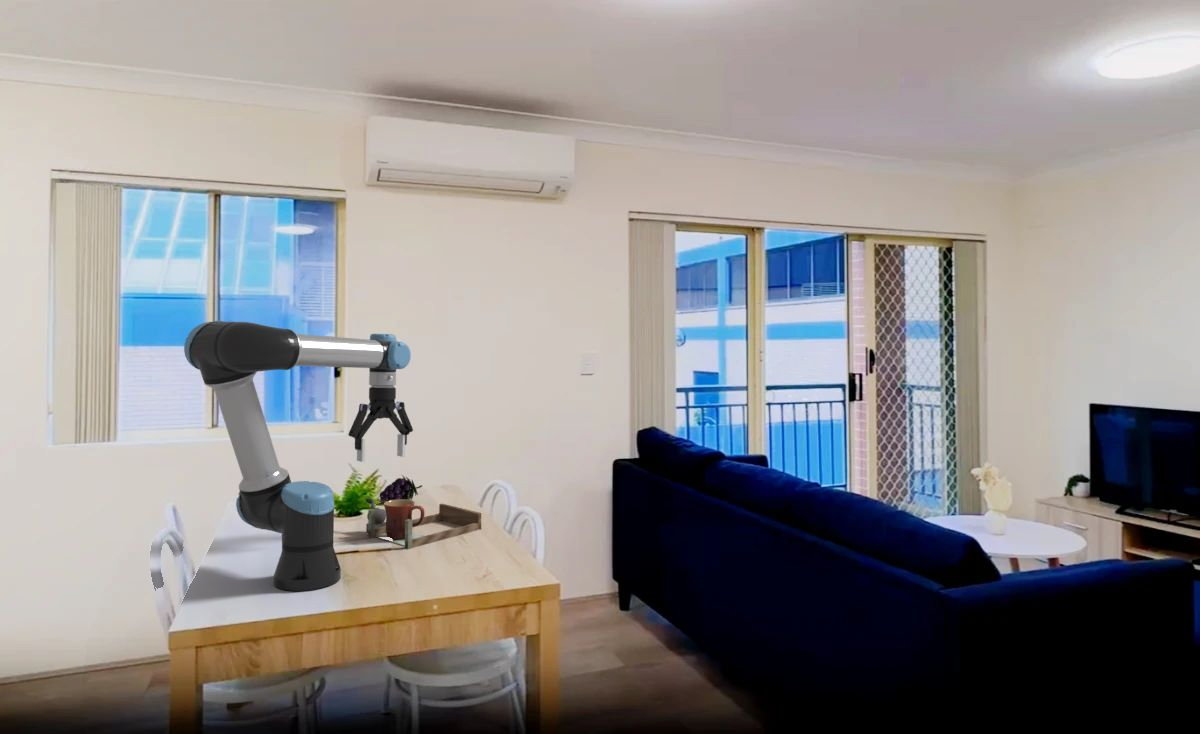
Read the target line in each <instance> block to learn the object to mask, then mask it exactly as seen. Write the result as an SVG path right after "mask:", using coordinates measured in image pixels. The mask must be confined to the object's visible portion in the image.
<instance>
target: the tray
mask: <svg viewBox="0 0 1200 734" xmlns="http://www.w3.org/2000/svg"><path fill="white" fill-rule="evenodd" d="M365 503H368V504H369V505H370V509H368V512H367V516H366V517H367V521H368V523H366V525H365V526H366V527H365V528H366V529H365V530H366V531H365V533H368V534H367V537H368V536H370V537H369V538H376V537H387V535H386V511H385V510H384V509H381V508H377V507H375V499H373V498H369V497H366V498H365ZM438 506H439V510H438V512H439V513H436V514H435V513H434V514H431V515H427V516H424V519H423V521H422V523H421V524H420V525H418V526H417V527H419V526H423V525H427V524H431V523H432V524H433V523H435V522H439V521H443V522H444V521H445V522H447V523H452V524H455V525H459V526H457V527H455V528H449V529H446V530H442V531H438V532H433V533H431V534H428V535H424V534H421V533H417V532H413V527H412V522H413V523H417V522H418V521H419V520H420V517H418V518H417V517H416V518H414V519H413V518H412V520H411V519H408V520H405V539H402V540H393V544H396V545H398V546H403V547H404V549H407V550H409V549H412V548H416V547H421V546H424V545H427V544H431V543H435V542H438V541H442V540H447V539H450V538H454V537H457V536H460V535H465V534H467V533H470V532H471V533H472V532H475V531H479V530H481V529H482V512H479V511H476V510H475V511H474V510H470V509H468V508H467V509H466V508H462V507H457V506H453V505H449V504H445V503H439V505H438ZM478 529H479V530H478Z"/></svg>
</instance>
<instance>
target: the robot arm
mask: <svg viewBox="0 0 1200 734" xmlns="http://www.w3.org/2000/svg"><path fill="white" fill-rule="evenodd" d="M183 349H184V350H183V351H184V352H183V353H184V357H185V359H186V361H187V362H188V363H189V365H191V366H192V367H194V368H195V369H197V370H198V371H200V374H201V377H202V380H203V383H204V385H205V386H207V387H209V388H211V389H213V390H214V394H215V397H216V401H217V403H218V405H219V409H220V413H221V415H222V418H223V420H224V424H225V426H226V430H227V433H228V436H229V439H230V443H231V446H232V448H233V452H234V455H235V457H236V461H237V464H238V467H239V470H240V473H241V477H242V479H241V481H240V482H239V485H238V490H239V491H238V494H237V495H238V497H237V498H236V501H235V502H236V503H235V506H236V512H237V514H238V516H239V518H240V519H241V520H242V521H243V522H244V523H246V524H248V525H249V526H252V527H253V528H256V529H260V530H266V531H270V532H275V533H278V534H281V554H280V557H279V559H278V563H277V565H276V568H275V571H274V574H273V586H274V587H275V588H277V589H280V590H284V591H291V592H292V591H293V592H300V591H312V590H318V589H319V590H320V589H323V588H326V587H330V586H333V585H334V584H336V583H339V581H340V580H341V578H342V570H341V569H342V568H341V565H340V562H339V559H338V557H337V554H336V550H335V548H334V547H335V546H334V531H335V530H334V526H335V525H334V524H335V523H334V522H335V499H334V498H335V497H334V491H333V489H332V488H331V487H330V486H329V485H327V484H325V483H323V482H319V481H309V480H307V481H306V480H298V481H293V482H292V481H291V480H292V479H291V476H290V474H289V472H288V470H287V469H285V468H283V467H281V466H280V464H279V460H278V457H277V454H276V450H275V448H274V445H273V441H272V437H271V434H270V431H269V428H268V424H267V422H266V418H265V416H264V415H265V414H264V412H263V409H262V406H261V403H260V398H259V395H258V392H257V389H256V386H255V381H254V377H255V375H256V374H257V373H258V372H266V371H267V372H268V371H290V370H292V369H293V368H294V367H322V368H323V367H324V368H326V367H327V368H353V369H354V368H358V369H363V368H364V369H369V374H368V375H369V377H368V380H369V381H368V385H369V386H370V387H369V388H368V400H369V403H368V404H366V403H360V404H359V406H358V411H357V414H356V416H355V419H354V420H353V423H352V425H351V428H350V430H349V431H348V437H350V438H354V450H355V451H356V462H361V463H363V462H365V457H366V455H365V453H366V452H365V451H366V450H365V449H366V447H365V446H366V438H364V436H365V435H366V434H367V432H368V431H369V429H370V428H371V427H372V425H373V424H374V422H375V421H377V419H381V420H382V419H389V421H390V422H391V423H392V424H393V425H394V427H395V428H396V430H397V431H398V432H399V433H398V434H397V442H396V443H397V446H396V447H397V448H396V450H397V451H396V453H397V454H396V455H397V456H398V457H400V458H401V457H402V458H404V457H406V456H405V455H406V454H405V453H406V452H405V451H406V446H407V443H408V436H409V435H410V433H412V432H413V431H414V428H413V426H412V424H411V420H410V419H409V417H408V414H407V412H406V409H405V406H406V405H405V402H403V401H397V402H396V401H395V400H396V395H397V388H396V387H395V386H396V385H397V370H402V369H405V368H406V367H407V366H408V365H409V363H410V362H411V355H412V354H411V349H410V347H409V346H408V344H407V343H405V342H403V341H398V340H397V337H396V335H395V334H393V333H371V334H370V336H369V339H366V338H365V339H364V338H353V337H341V336H339V337H338V336H326V335H313V334H301V333H297V332H296V331H294V330H293V329H290V328H280V327H274V326H268V325H263V324H259V323H254V322H248V321H223V320H214V321H206V322H203V323H200V324H198V325H196V326H195V327H194V328H193V329H191V330H190V332H189V333H188V336H187V337H186V338H185V341H184V347H183ZM395 409H396V412H397V414H398V415H397V414H396V412H395ZM368 411H369V413H368ZM399 418H400V419H399ZM397 456H396V457H397Z"/></svg>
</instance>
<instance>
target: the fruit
mask: <svg viewBox="0 0 1200 734" xmlns="http://www.w3.org/2000/svg"><path fill="white" fill-rule="evenodd" d="M401 476H402V477H399V478H396V479H395V480H394V481H393V482H391V483H390V484H388V485H387V486H386V487H384V489H383V490H382V491H381V492H380V496H379V500H380V502H387V501H390V500H399V499H404V500H412V499H413V498H414V496H415V497H416V496H419V493H418V491H417V489H420V488H422V487H423V485H422V484H421V485H419V486H417V487H416V484H415V482H414V481H413V479H410V478H409V477H407V476H404V475H403V474H401ZM412 501H413V500H412Z"/></svg>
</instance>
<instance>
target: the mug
mask: <svg viewBox="0 0 1200 734" xmlns="http://www.w3.org/2000/svg"><path fill="white" fill-rule="evenodd" d="M383 507H384V509H385V510H384V511H385V512H386V519H385V522H386V535H387V537H390V538H392V539H393V540H402V539H405V520H408V519H411V520H413V511H414V510H416V509H417V510H420V517H419V518H420V520H419V521H418V522H417V523H413V522H412V528H415V527H419V526H418V525H420V524H421V523H422V521H423V519H424V517H425V514H426V513H425V508H424V507H423V506H421V505H415V501H414V500H411V499H410V500H404V499H399V500H390V501H384V503H383ZM420 526H421V525H420Z"/></svg>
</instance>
